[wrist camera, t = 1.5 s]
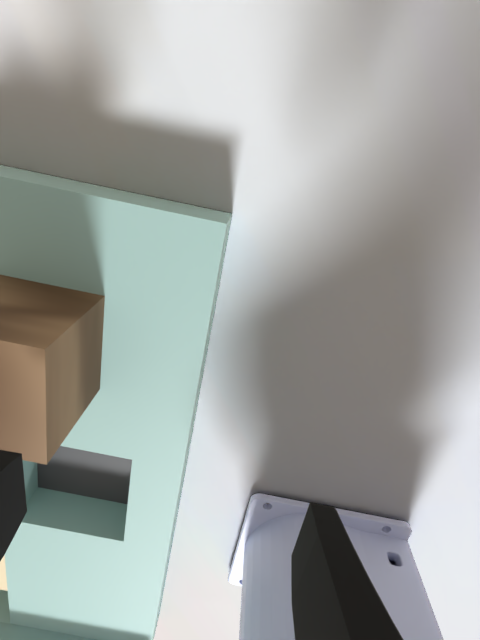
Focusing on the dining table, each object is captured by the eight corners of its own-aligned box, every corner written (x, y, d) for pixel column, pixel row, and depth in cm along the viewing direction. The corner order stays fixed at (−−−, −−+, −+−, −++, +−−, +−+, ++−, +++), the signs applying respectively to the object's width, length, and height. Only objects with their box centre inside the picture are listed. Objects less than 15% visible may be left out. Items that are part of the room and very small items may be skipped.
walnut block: (104, 296, 15) (45, 349, 11) (99, 389, 17) (46, 464, 13) (-8, 272, 15) (-111, 317, 11) (-1, 369, 17) (-87, 438, 13)
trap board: (232, 213, 16) (222, 231, 12) (158, 616, 28) (142, 686, 24) (-151, 133, 16) (-277, 126, 12) (-61, 575, 27) (-112, 640, 24)
